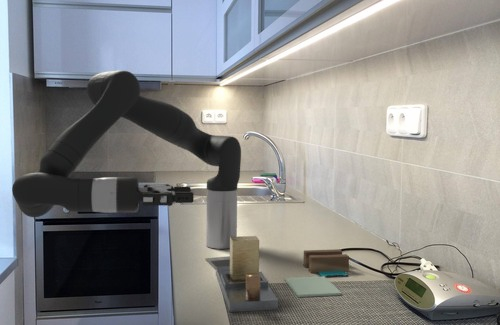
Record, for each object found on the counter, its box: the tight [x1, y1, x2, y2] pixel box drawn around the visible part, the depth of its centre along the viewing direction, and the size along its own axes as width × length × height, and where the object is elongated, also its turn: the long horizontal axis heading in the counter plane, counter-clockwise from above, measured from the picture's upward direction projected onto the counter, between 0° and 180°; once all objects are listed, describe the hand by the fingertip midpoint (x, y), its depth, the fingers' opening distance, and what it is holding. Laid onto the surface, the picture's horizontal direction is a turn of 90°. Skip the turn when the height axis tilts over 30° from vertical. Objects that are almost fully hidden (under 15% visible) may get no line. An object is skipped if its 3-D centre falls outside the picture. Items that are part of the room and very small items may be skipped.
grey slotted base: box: [215, 266, 279, 313], centre depth 118 cm, size 25×10×7 cm, turn 10°
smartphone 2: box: [316, 271, 349, 278], centre depth 136 cm, size 7×1×15 cm
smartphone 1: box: [204, 255, 230, 271], centre depth 138 cm, size 15×8×1 cm, turn 21°
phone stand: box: [302, 248, 350, 274], centre depth 136 cm, size 7×10×4 cm
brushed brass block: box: [229, 235, 260, 282], centre depth 118 cm, size 4×6×10 cm, turn 100°
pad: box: [284, 276, 342, 298], centre depth 121 cm, size 12×10×1 cm
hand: (191, 194), depth 114 cm, fingers open, 8 cm apart
